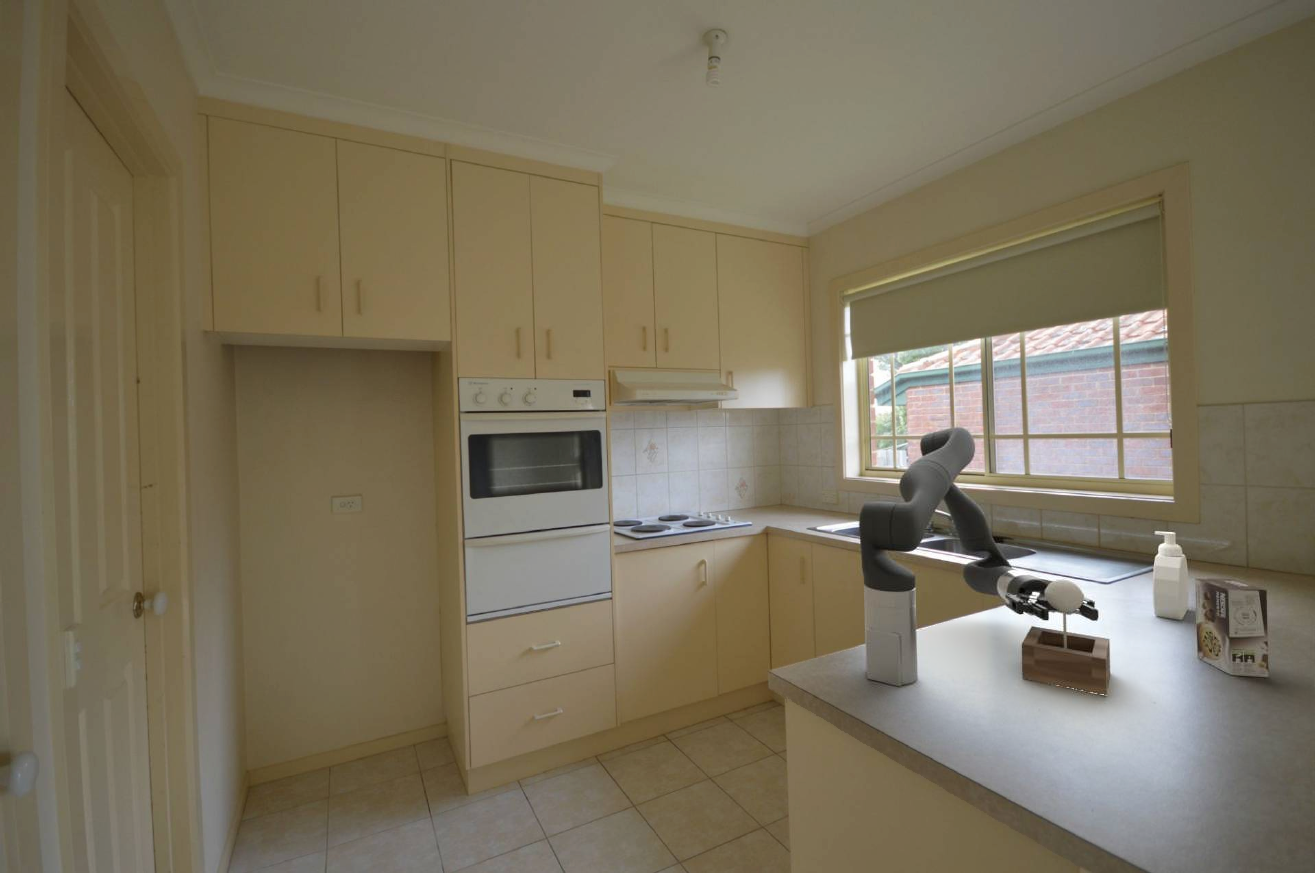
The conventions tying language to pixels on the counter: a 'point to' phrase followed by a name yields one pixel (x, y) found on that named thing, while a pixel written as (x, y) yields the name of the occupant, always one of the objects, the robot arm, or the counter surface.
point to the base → (1066, 660)
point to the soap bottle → (1170, 579)
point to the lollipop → (1064, 599)
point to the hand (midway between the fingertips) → (1071, 615)
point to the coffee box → (1232, 626)
